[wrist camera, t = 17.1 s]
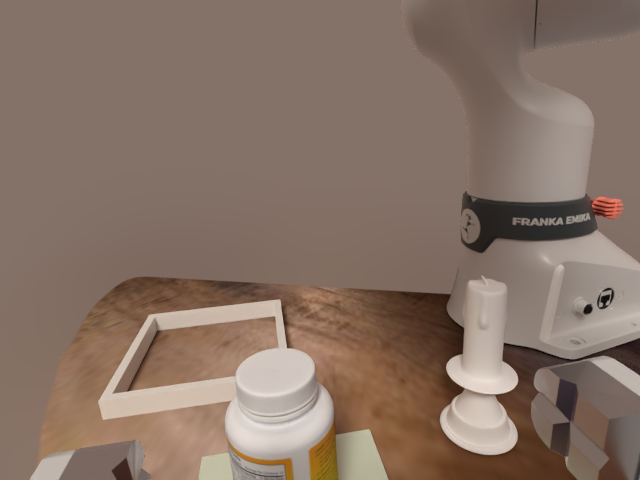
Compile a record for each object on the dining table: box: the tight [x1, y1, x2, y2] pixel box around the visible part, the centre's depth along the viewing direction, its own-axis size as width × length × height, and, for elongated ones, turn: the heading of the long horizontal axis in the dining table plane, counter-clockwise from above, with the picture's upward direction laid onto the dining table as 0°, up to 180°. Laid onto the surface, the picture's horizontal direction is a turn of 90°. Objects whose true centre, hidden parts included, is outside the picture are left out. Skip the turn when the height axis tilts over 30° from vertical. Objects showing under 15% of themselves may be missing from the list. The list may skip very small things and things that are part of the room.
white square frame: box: [98, 300, 287, 420], centre depth 40 cm, size 16×16×2 cm
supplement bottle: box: [225, 348, 338, 480], centre depth 20 cm, size 6×6×10 cm
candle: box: [440, 276, 518, 455], centre depth 27 cm, size 5×5×12 cm
